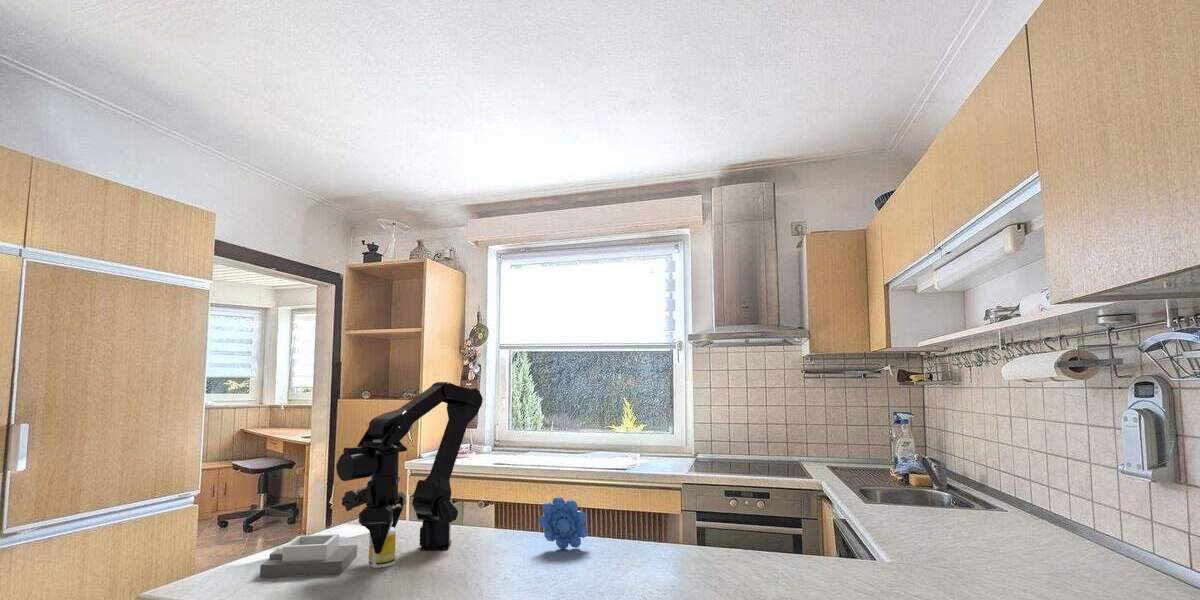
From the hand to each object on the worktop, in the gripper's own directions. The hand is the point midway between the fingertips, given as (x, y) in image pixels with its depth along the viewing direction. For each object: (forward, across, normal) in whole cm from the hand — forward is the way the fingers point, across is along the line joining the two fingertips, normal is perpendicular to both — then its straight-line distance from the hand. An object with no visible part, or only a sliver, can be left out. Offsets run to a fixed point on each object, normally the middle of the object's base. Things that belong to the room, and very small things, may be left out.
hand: (382, 547), depth 132 cm
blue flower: (+4, -4, +40) cm, 40 cm away
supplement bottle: (+4, 0, 0) cm, 4 cm away
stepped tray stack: (+4, -1, -15) cm, 16 cm away
